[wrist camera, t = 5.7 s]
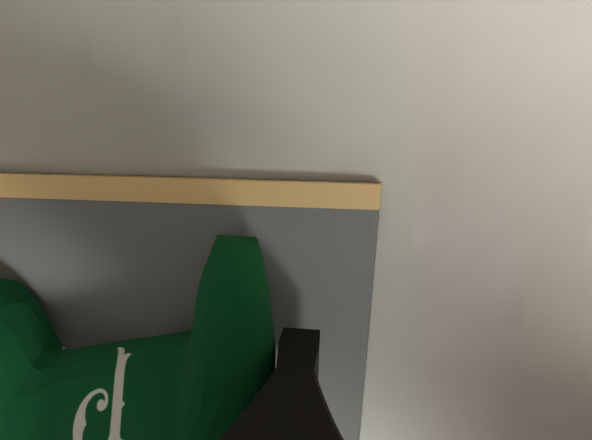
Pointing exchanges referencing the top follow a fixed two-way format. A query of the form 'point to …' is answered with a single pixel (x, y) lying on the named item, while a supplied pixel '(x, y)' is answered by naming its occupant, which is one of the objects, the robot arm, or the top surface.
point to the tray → (196, 259)
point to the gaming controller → (142, 363)
